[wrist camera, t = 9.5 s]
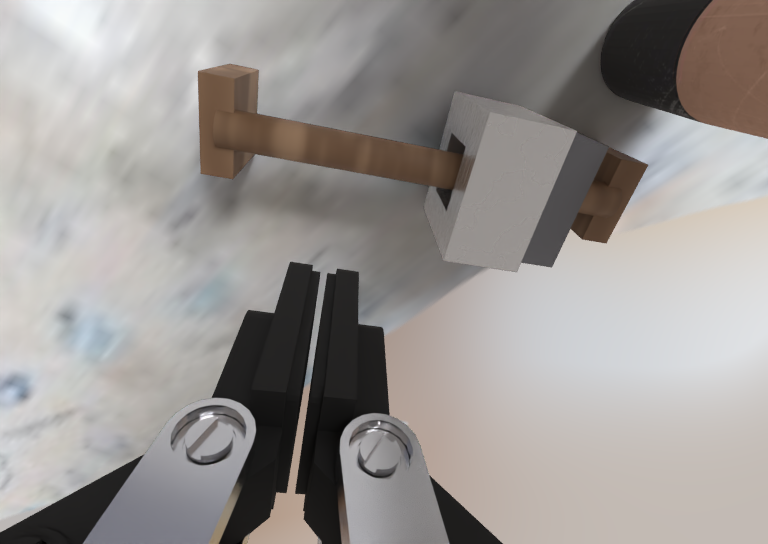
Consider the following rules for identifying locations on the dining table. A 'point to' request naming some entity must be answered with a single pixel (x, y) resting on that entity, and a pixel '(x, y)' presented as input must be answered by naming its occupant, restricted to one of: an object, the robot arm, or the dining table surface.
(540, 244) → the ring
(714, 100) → the travel mug
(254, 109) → the dowel rail
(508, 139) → the sleeve
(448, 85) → the dining table surface
